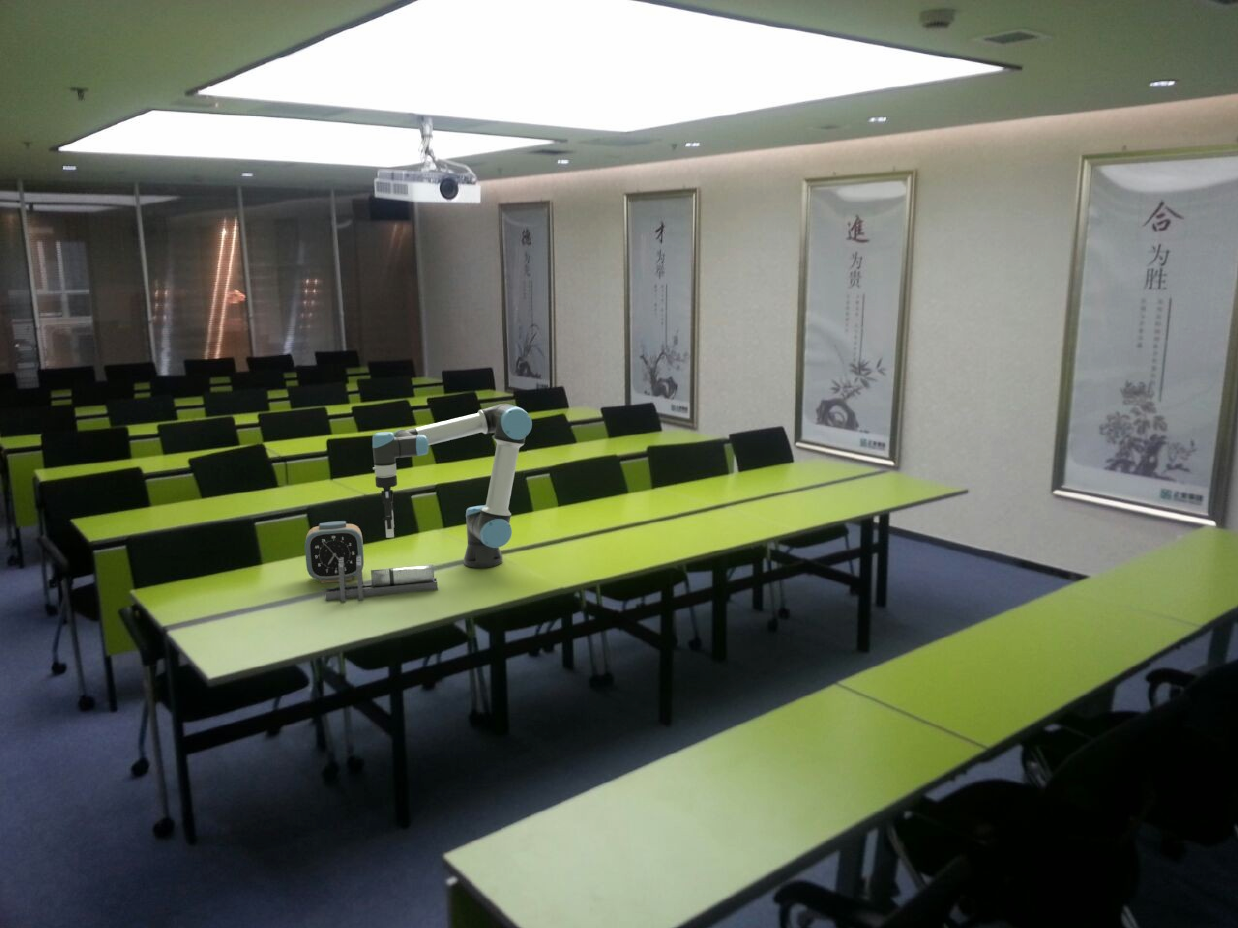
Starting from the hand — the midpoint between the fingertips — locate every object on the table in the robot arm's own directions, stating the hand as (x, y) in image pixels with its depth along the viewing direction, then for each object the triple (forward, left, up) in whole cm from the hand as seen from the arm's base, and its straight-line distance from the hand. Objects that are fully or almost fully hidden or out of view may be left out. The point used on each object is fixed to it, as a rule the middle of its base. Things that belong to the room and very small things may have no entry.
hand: (390, 532), depth 340 cm
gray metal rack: (+4, +6, -21) cm, 22 cm away
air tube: (-3, +6, -18) cm, 19 cm away
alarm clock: (+21, -17, -21) cm, 34 cm away
